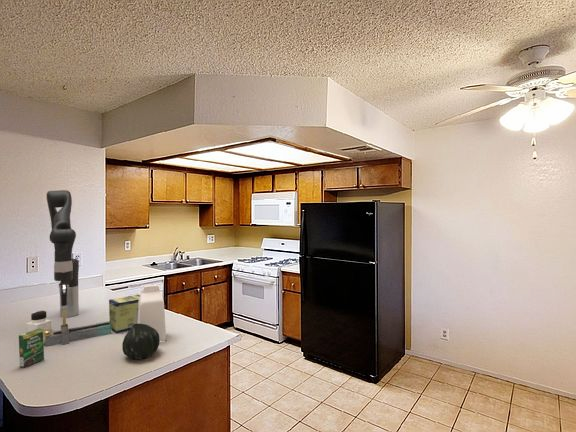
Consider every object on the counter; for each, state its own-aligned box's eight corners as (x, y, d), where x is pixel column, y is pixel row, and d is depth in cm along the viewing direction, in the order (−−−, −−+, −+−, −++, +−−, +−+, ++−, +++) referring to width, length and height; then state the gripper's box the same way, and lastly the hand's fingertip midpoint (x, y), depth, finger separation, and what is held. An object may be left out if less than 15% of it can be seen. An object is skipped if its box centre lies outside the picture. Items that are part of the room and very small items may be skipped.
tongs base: (41, 340, 160) (40, 328, 160) (108, 328, 177) (108, 316, 177) (40, 349, 151) (40, 335, 150) (112, 335, 167) (112, 322, 167)
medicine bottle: (51, 334, 169) (51, 310, 168) (36, 339, 162) (36, 314, 162) (41, 332, 171) (41, 308, 171) (26, 337, 164) (26, 313, 164)
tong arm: (53, 339, 160) (53, 331, 160) (109, 328, 175) (109, 321, 175) (53, 341, 159) (53, 332, 159) (110, 330, 173) (110, 322, 173)
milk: (138, 346, 154) (138, 289, 154) (137, 337, 165) (136, 284, 164) (166, 341, 160) (165, 287, 159) (163, 333, 170) (162, 282, 169)
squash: (170, 335, 152) (147, 311, 151) (158, 351, 137) (133, 324, 136) (147, 356, 152) (124, 332, 151) (133, 374, 138) (107, 347, 137)
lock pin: (62, 328, 164) (61, 309, 164) (66, 327, 165) (66, 308, 165) (62, 329, 163) (61, 310, 162) (66, 328, 164) (66, 309, 163)
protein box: (108, 329, 176) (108, 299, 176) (138, 321, 187) (138, 293, 187) (116, 334, 169) (116, 303, 168) (147, 326, 180) (146, 297, 180)
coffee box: (23, 368, 133) (22, 335, 132) (18, 367, 134) (18, 334, 133) (44, 359, 140) (44, 328, 140) (40, 358, 141) (39, 327, 141)
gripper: (53, 268, 166) (54, 303, 167) (54, 273, 156) (54, 310, 156) (71, 267, 171) (72, 301, 171) (73, 271, 160) (74, 307, 160)
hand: (63, 305), depth 164 cm, fingers closed
